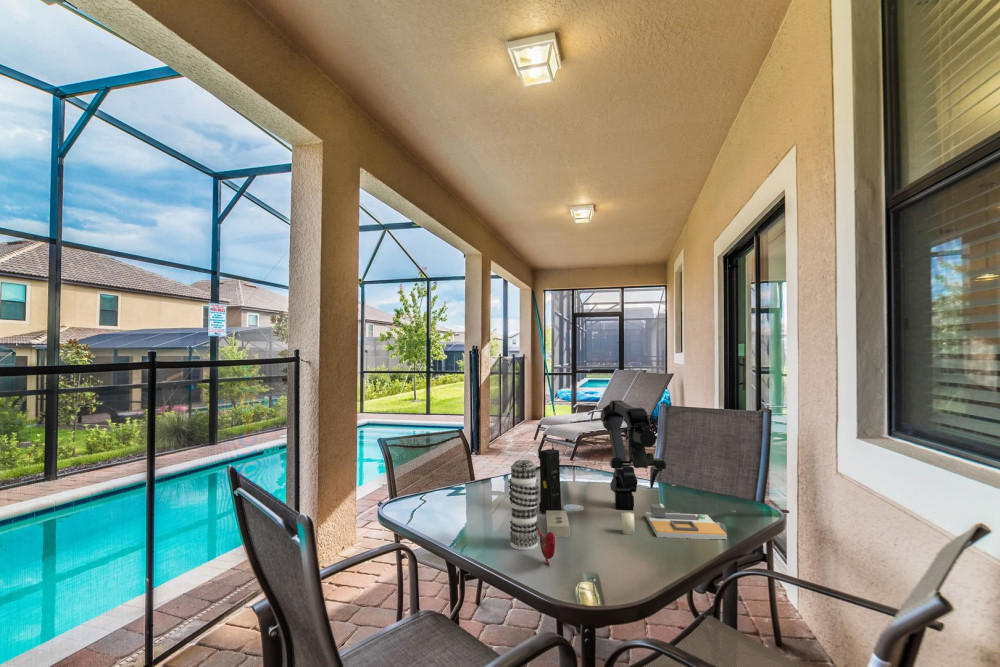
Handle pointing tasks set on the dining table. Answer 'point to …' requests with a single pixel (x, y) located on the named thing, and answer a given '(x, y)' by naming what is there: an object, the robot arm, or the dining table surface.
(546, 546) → the decorative bird figurine
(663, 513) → the block
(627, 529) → the lockout cap
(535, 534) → the decorative candle
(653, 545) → the dining table surface
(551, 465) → the portable radio
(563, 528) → the electrical outlet
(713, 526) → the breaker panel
